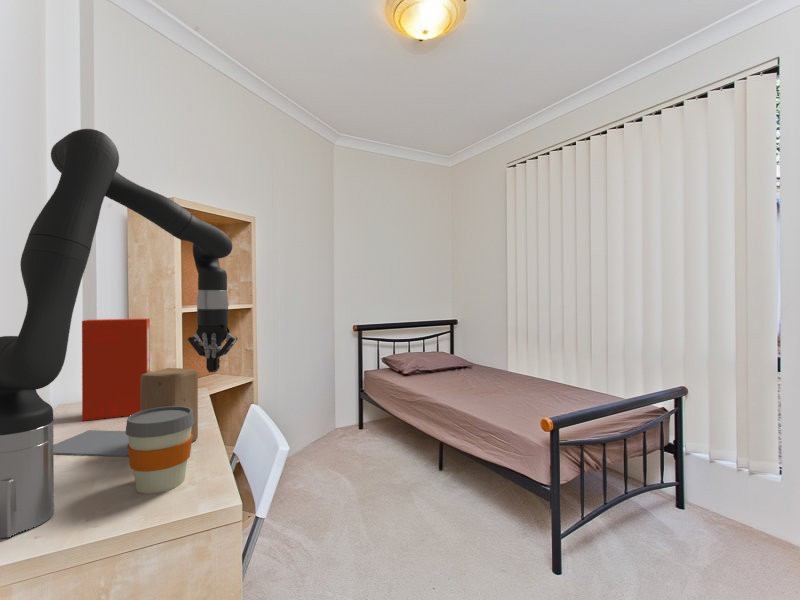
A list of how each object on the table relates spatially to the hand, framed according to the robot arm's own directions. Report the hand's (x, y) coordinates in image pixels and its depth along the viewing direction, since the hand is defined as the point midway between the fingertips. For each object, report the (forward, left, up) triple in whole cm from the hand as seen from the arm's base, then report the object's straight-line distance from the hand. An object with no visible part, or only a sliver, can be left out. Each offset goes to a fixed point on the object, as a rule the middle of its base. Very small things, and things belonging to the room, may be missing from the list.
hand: (213, 371), depth 104 cm
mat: (0, +30, -20) cm, 36 cm away
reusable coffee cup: (-21, 0, -20) cm, 29 cm away
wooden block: (0, +12, -20) cm, 24 cm away
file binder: (+24, +46, -20) cm, 56 cm away
